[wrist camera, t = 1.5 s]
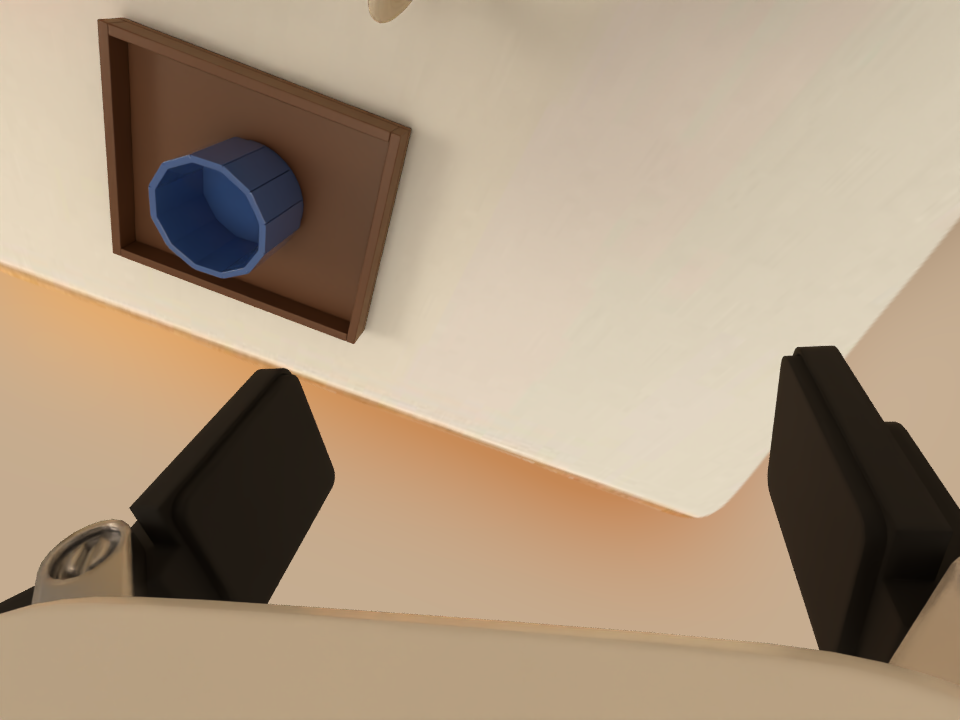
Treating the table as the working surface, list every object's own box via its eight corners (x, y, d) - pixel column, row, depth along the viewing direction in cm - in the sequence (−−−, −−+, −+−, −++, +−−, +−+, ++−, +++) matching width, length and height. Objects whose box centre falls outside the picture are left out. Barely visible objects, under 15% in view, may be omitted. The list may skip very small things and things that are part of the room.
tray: (132, 242, 40) (112, 253, 38) (123, 17, 32) (96, 18, 30) (364, 330, 40) (353, 344, 39) (411, 128, 32) (401, 136, 31)
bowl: (182, 151, 35) (125, 172, 31) (276, 124, 33) (229, 143, 29) (233, 253, 38) (188, 285, 34) (322, 235, 36) (285, 266, 32)
